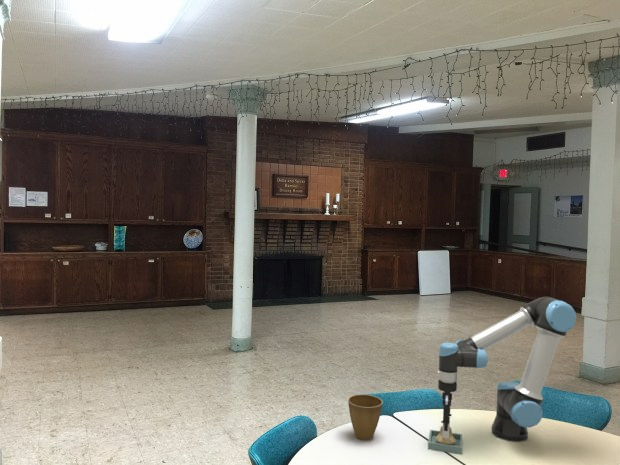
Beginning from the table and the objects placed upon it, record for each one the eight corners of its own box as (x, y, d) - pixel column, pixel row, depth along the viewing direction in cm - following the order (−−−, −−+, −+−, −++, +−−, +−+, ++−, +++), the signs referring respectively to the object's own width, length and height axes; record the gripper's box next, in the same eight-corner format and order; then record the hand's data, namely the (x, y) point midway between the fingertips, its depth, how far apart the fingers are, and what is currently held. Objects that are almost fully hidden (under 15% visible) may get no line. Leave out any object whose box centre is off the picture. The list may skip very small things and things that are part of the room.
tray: (462, 440, 220) (462, 434, 220) (462, 454, 207) (462, 447, 207) (429, 435, 224) (430, 429, 224) (427, 449, 211) (428, 442, 211)
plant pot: (340, 435, 223) (341, 399, 222) (363, 426, 232) (364, 392, 232) (365, 447, 211) (366, 409, 211) (388, 438, 221) (389, 401, 221)
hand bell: (453, 436, 219) (455, 399, 219) (457, 445, 211) (458, 407, 211) (434, 435, 220) (435, 398, 220) (437, 443, 212) (438, 405, 212)
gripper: (439, 373, 225) (437, 424, 226) (437, 386, 207) (435, 442, 208) (457, 374, 223) (455, 427, 224) (456, 388, 205) (454, 445, 206)
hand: (445, 434), depth 216 cm, fingers closed on hand bell, 6 cm apart
